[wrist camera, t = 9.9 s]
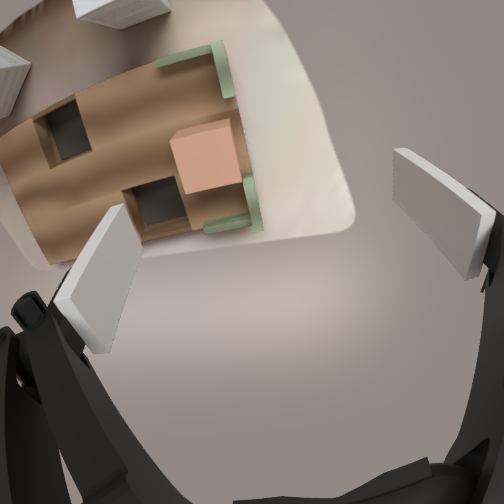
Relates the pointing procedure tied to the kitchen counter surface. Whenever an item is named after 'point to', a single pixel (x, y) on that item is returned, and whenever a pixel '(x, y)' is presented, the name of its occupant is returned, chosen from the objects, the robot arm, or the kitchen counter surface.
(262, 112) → the kitchen counter surface
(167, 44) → the kitchen counter surface
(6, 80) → the supplement box
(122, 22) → the small box
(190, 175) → the block
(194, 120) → the tray
